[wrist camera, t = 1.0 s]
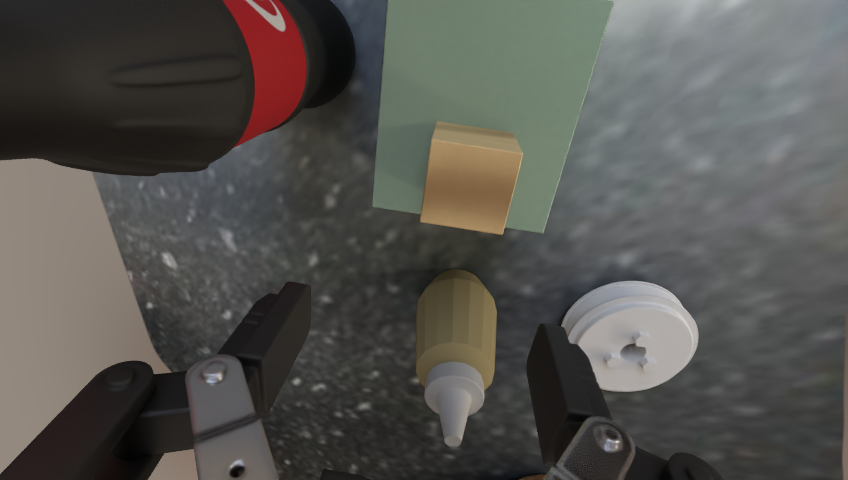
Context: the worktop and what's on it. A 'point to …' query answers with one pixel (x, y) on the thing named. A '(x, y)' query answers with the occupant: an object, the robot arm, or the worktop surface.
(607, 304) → the white pulley wheel
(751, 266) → the worktop surface
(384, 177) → the cabinet
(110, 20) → the cola bottle
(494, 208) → the block
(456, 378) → the squeeze bottle
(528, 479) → the rough brown rock
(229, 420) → the robot arm
